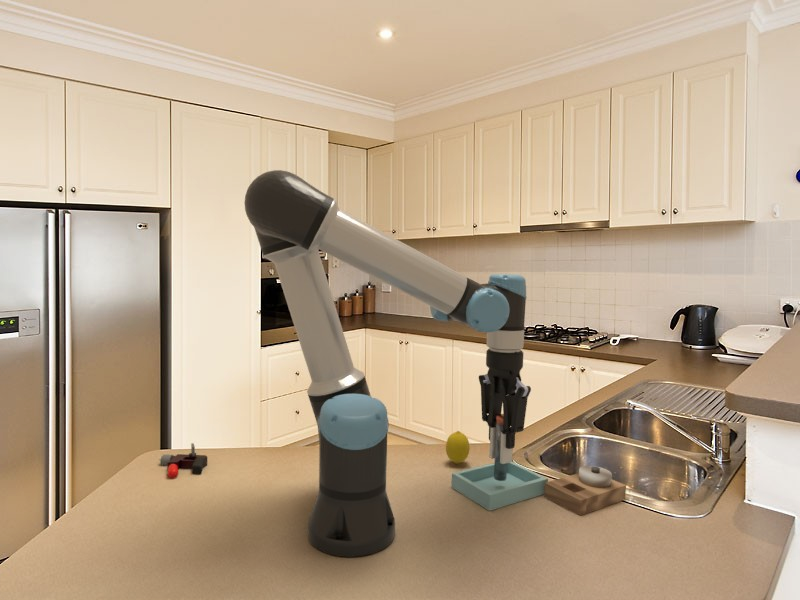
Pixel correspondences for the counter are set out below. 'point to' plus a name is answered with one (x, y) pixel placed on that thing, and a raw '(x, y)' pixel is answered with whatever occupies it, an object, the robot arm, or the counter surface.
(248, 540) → the counter surface
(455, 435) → the lemon
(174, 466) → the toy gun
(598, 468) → the block
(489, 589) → the counter surface
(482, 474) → the tray
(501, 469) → the pin
